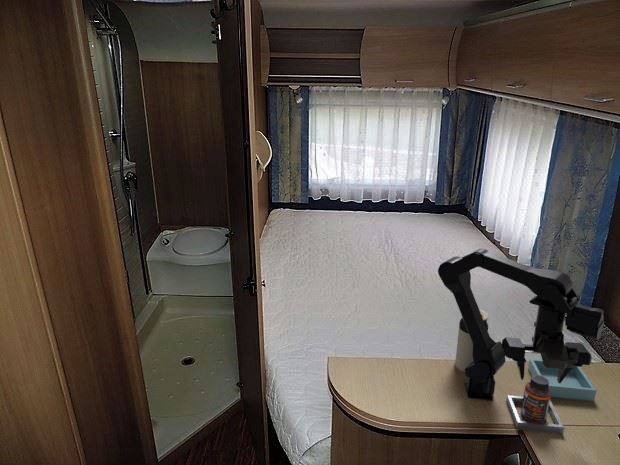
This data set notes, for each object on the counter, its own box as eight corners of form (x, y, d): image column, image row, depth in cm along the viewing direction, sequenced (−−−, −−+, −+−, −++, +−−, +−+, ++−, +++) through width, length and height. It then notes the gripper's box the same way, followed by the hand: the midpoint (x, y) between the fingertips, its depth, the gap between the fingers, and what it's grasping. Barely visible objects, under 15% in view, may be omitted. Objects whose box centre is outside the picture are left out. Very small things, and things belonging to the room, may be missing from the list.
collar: (516, 429, 110) (517, 422, 109) (506, 401, 120) (507, 395, 119) (563, 434, 108) (564, 427, 107) (548, 405, 118) (549, 399, 117)
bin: (541, 397, 121) (543, 385, 120) (527, 370, 133) (529, 358, 132) (593, 403, 119) (596, 390, 118) (574, 374, 131) (577, 362, 130)
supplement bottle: (520, 421, 113) (526, 382, 109) (520, 406, 118) (526, 369, 114) (546, 428, 110) (553, 389, 107) (546, 413, 115) (552, 375, 112)
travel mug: (464, 377, 130) (471, 321, 125) (449, 362, 138) (455, 309, 132) (488, 372, 132) (495, 318, 127) (472, 358, 140) (478, 306, 134)
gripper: (516, 338, 100) (508, 397, 105) (607, 345, 97) (595, 405, 101) (504, 315, 111) (497, 369, 115) (586, 321, 107) (575, 377, 112)
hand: (540, 380), depth 111 cm, fingers open, 8 cm apart
